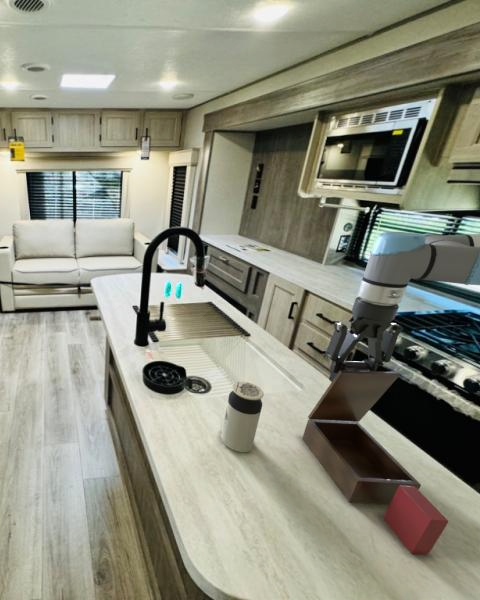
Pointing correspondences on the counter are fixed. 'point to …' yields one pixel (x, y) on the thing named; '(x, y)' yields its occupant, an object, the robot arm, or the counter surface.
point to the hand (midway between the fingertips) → (347, 382)
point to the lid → (352, 393)
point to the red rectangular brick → (415, 520)
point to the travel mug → (242, 416)
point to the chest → (356, 461)
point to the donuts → (169, 287)
